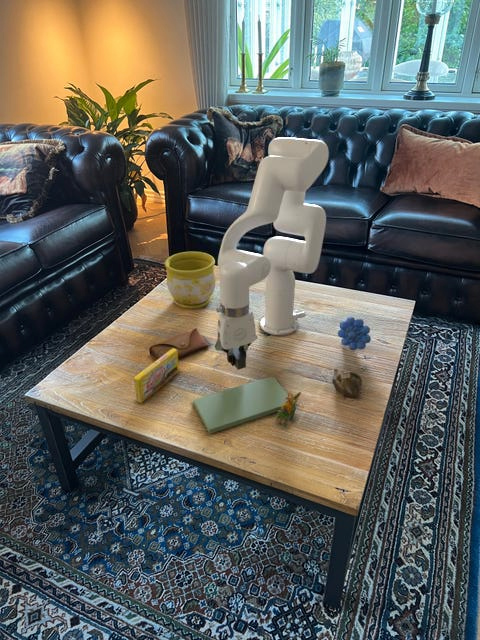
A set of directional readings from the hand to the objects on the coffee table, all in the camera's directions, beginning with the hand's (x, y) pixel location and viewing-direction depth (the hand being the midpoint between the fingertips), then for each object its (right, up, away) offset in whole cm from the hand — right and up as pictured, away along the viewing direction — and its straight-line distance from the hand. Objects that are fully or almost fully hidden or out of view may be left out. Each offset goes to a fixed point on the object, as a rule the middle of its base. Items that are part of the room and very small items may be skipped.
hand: (236, 361), depth 127 cm
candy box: (-22, -7, -3) cm, 23 cm away
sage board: (+2, -11, -10) cm, 15 cm away
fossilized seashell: (+30, -8, -4) cm, 31 cm away
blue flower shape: (+37, +3, +12) cm, 39 cm away
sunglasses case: (-18, +2, +12) cm, 22 cm away
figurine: (+13, -14, -14) cm, 24 cm away
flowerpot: (-17, +19, +39) cm, 47 cm away
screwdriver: (-2, +2, +3) cm, 4 cm away
